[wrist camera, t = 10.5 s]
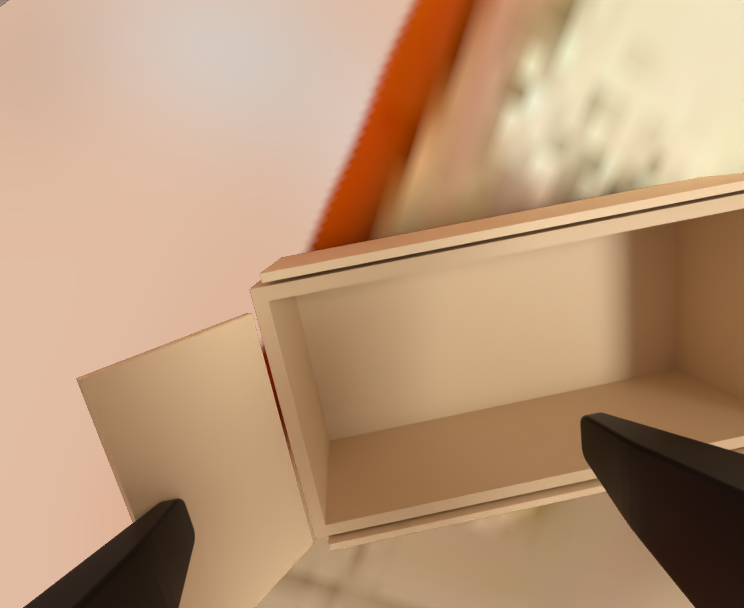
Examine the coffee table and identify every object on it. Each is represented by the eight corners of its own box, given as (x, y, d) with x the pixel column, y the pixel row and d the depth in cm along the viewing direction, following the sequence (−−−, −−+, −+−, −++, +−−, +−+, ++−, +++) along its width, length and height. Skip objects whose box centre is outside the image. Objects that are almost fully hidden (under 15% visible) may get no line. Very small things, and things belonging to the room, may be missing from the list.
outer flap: (194, 672, 9) (189, 666, 9) (313, 543, 11) (307, 540, 11) (81, 380, 7) (76, 378, 7) (252, 313, 10) (245, 313, 10)
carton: (676, 381, 18) (810, 450, 13) (324, 454, 17) (317, 556, 12) (676, 178, 16) (838, 162, 10) (276, 255, 15) (244, 276, 10)
